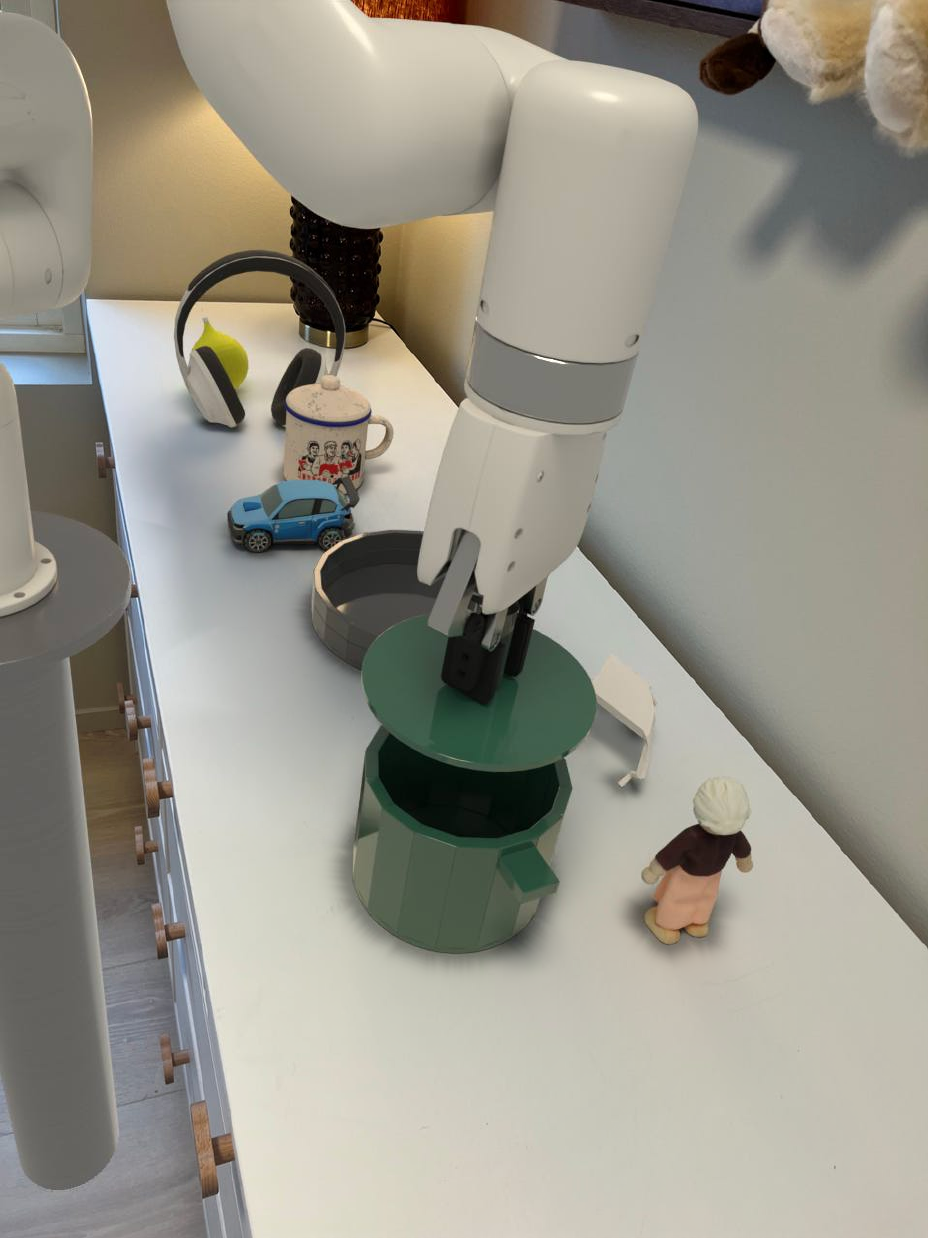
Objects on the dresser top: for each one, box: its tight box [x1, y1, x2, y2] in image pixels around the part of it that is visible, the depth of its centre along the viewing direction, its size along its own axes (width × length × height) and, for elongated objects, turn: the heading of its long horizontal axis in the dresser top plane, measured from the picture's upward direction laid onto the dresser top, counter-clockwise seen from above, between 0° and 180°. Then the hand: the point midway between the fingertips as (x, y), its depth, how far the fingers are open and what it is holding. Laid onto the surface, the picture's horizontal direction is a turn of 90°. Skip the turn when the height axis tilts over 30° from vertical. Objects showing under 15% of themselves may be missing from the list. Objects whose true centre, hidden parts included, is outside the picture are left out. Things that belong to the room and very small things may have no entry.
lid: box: [360, 601, 598, 772], centre depth 54 cm, size 14×14×7 cm
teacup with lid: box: [283, 375, 394, 495], centre depth 104 cm, size 12×9×12 cm
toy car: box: [226, 476, 361, 553], centre depth 94 cm, size 6×12×6 cm, turn 108°
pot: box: [352, 724, 573, 954], centre depth 62 cm, size 13×18×10 cm
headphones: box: [173, 249, 346, 428], centre depth 111 cm, size 19×8×20 cm, turn 110°
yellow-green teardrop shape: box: [190, 306, 249, 390], centre depth 119 cm, size 7×7×10 cm
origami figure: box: [591, 651, 658, 788], centre depth 76 cm, size 12×8×5 cm
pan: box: [310, 529, 475, 671], centre depth 87 cm, size 18×18×4 cm
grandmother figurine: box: [640, 776, 754, 945], centre depth 60 cm, size 8×4×13 cm, turn 118°
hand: (481, 675), depth 55 cm, fingers closed on lid, 2 cm apart
